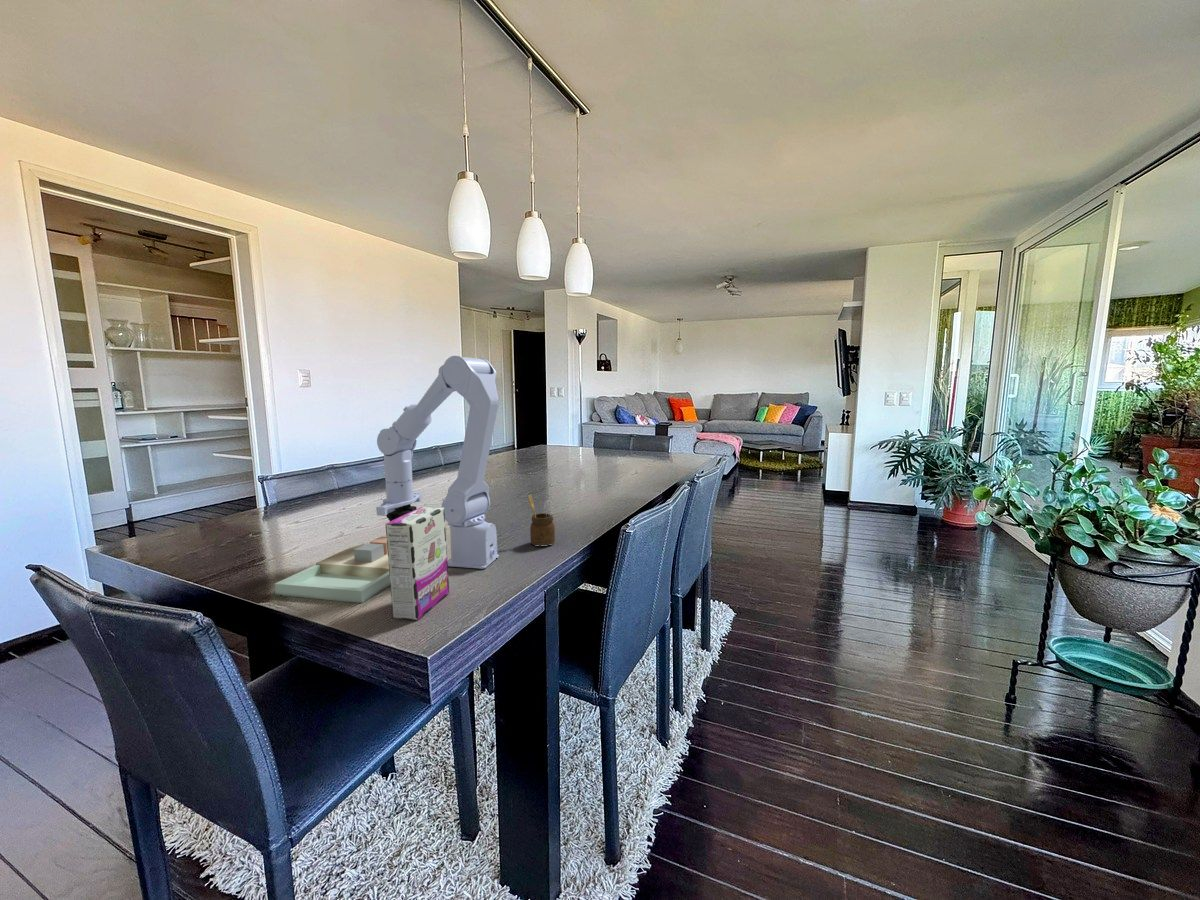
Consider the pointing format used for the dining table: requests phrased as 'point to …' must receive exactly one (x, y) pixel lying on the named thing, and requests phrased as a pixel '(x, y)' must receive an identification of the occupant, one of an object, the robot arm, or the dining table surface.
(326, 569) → the birch plate
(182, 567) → the dining table surface
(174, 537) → the dining table surface
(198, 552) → the dining table surface
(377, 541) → the terracotta block
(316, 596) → the sage tray
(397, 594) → the candy bar box
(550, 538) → the utensil holder
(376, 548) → the slate-grey block
